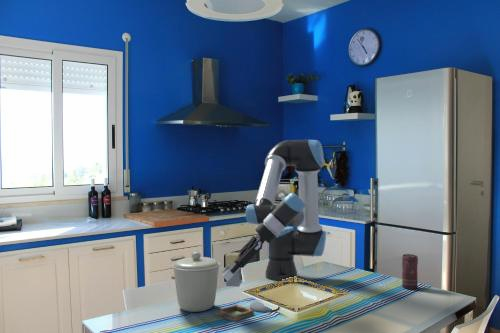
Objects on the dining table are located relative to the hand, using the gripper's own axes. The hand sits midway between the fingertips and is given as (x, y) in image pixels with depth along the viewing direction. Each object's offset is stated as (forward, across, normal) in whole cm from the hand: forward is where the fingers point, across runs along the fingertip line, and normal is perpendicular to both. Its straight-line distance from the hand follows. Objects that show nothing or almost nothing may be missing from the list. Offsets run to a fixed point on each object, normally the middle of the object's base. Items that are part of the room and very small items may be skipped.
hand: (224, 275), depth 157 cm
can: (-46, +24, -67) cm, 85 cm away
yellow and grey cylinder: (0, 0, -4) cm, 5 cm away
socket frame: (+7, 0, -12) cm, 14 cm away
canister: (+18, +9, -3) cm, 20 cm away
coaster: (0, +7, -20) cm, 22 cm away
